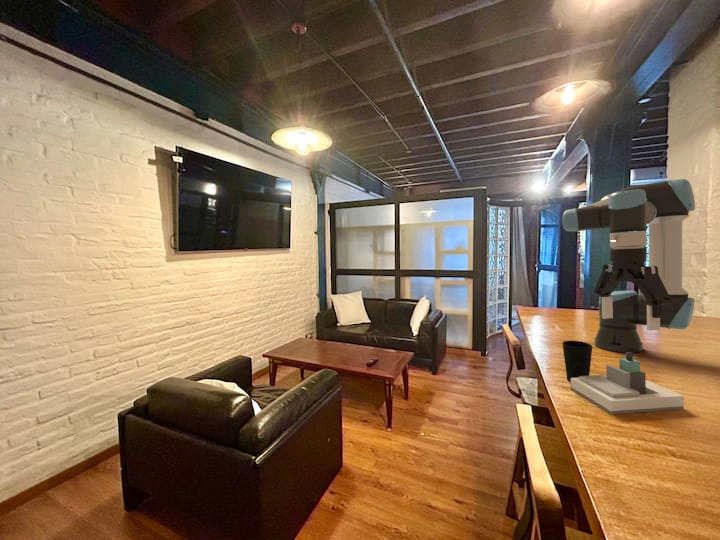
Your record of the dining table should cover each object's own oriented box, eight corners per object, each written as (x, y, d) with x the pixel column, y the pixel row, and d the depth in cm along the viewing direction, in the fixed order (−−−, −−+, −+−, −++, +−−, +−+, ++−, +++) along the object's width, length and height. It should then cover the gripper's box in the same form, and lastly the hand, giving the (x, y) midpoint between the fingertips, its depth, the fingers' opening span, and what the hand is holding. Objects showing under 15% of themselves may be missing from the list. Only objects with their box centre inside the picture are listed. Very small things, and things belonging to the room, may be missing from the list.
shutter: (603, 377, 88) (602, 361, 87) (639, 395, 76) (639, 377, 76) (579, 378, 87) (579, 363, 87) (612, 397, 76) (612, 379, 76)
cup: (594, 388, 89) (593, 349, 88) (563, 383, 93) (563, 346, 92) (591, 378, 95) (590, 342, 95) (562, 374, 99) (561, 339, 99)
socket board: (632, 385, 89) (632, 373, 89) (683, 409, 75) (683, 395, 75) (570, 389, 89) (570, 378, 89) (611, 414, 75) (611, 400, 75)
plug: (631, 391, 84) (631, 350, 84) (645, 398, 80) (645, 354, 80) (614, 392, 84) (614, 351, 84) (627, 399, 80) (627, 356, 80)
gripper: (579, 249, 94) (580, 315, 95) (662, 247, 69) (662, 337, 70) (602, 247, 94) (603, 313, 95) (693, 245, 69) (693, 334, 70)
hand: (628, 323), depth 82 cm, fingers open, 13 cm apart
